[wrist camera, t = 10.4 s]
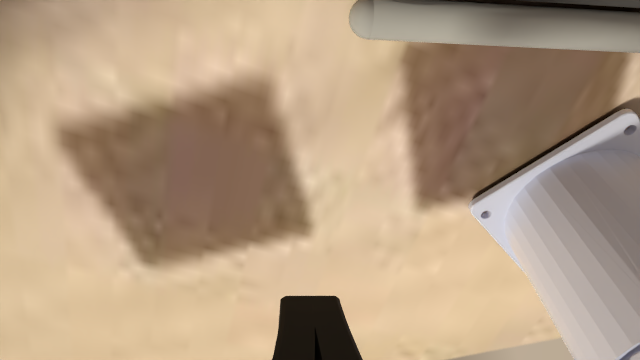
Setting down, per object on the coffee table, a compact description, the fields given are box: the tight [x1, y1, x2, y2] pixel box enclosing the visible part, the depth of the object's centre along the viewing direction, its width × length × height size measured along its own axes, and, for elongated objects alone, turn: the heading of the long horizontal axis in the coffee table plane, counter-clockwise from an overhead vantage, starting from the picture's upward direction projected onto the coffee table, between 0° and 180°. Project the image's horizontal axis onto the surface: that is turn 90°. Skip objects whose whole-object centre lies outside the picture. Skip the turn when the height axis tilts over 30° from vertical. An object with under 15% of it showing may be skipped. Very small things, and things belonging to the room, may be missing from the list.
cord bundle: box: [349, 0, 640, 53], centre depth 16 cm, size 16×3×1 cm, turn 85°
